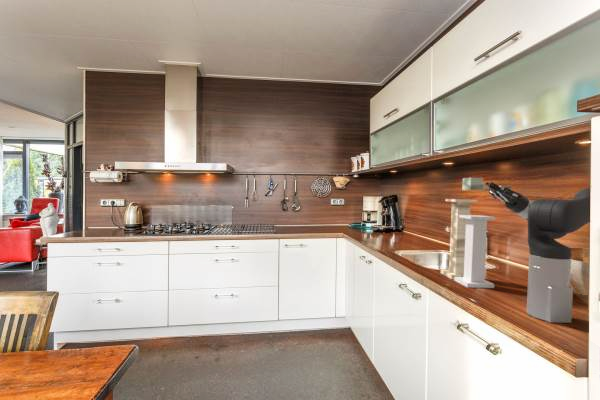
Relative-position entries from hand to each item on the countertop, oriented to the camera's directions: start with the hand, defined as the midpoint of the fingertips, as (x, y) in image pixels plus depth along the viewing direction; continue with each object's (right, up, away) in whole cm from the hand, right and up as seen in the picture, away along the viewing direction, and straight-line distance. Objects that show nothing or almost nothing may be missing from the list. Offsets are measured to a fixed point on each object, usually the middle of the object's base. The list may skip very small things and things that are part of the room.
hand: (487, 184), depth 129 cm
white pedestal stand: (-12, -39, -11) cm, 42 cm away
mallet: (-1, -3, 0) cm, 3 cm away
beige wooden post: (-12, -38, 0) cm, 40 cm away
